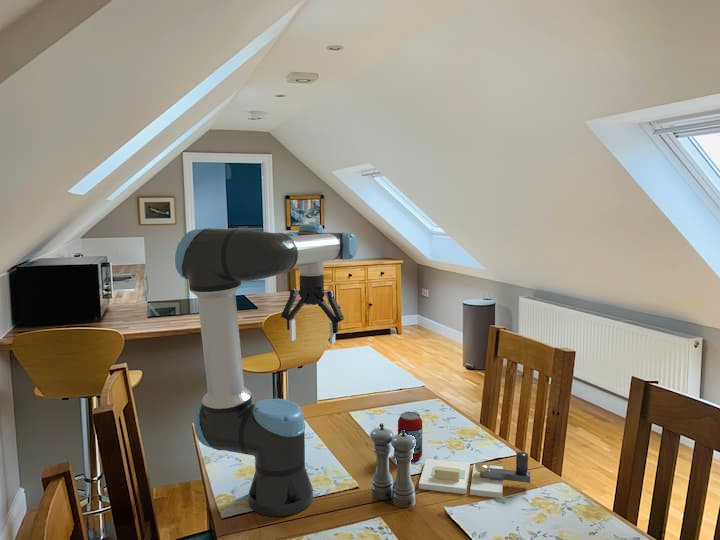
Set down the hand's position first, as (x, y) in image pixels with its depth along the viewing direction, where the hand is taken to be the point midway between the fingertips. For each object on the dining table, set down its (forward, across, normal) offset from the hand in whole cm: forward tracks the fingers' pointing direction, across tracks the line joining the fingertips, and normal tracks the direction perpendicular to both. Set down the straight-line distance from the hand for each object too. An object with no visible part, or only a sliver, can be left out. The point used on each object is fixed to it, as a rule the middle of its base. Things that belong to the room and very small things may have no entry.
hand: (312, 342), depth 180 cm
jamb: (+27, -57, +21) cm, 66 cm away
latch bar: (+25, -60, +20) cm, 69 cm away
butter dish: (+27, -46, +22) cm, 58 cm away
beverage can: (+27, -35, +13) cm, 46 cm away
